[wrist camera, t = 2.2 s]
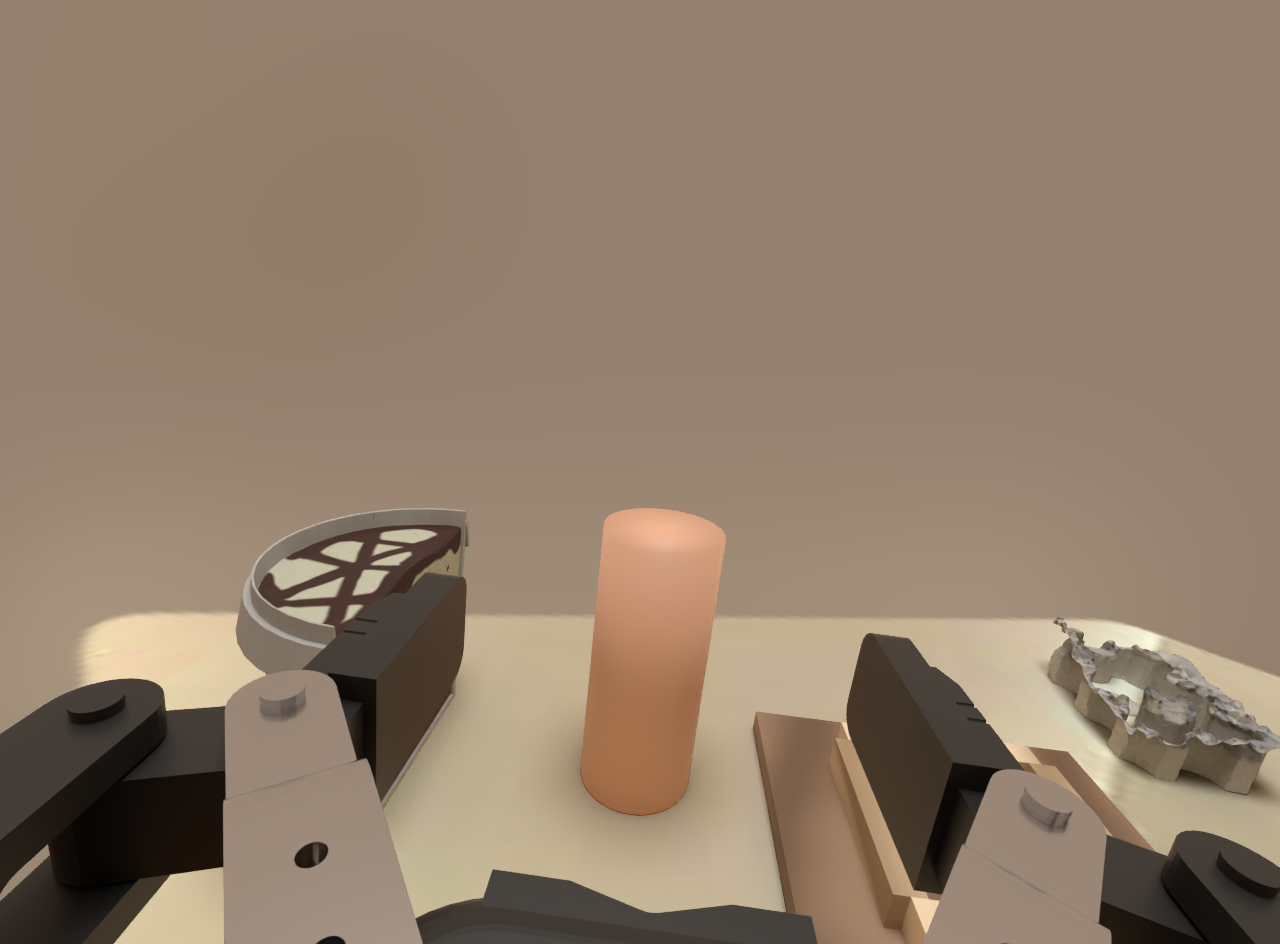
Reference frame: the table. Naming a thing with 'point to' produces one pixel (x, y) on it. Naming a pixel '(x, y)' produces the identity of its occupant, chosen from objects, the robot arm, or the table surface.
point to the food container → (343, 585)
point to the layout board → (865, 831)
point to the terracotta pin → (649, 656)
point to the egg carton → (1163, 713)
